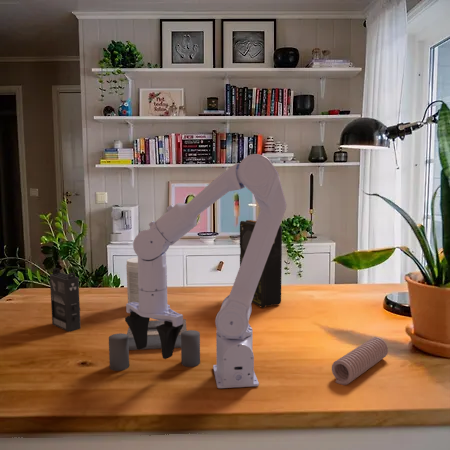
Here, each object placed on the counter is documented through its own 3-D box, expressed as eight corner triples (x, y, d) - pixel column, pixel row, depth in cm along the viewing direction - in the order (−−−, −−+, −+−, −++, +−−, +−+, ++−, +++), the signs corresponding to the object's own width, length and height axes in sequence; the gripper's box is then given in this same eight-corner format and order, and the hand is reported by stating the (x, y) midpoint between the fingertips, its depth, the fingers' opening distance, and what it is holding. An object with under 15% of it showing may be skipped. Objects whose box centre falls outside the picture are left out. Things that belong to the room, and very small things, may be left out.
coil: (369, 334, 100) (328, 359, 87) (389, 337, 97) (350, 364, 84) (370, 355, 100) (329, 383, 87) (390, 358, 97) (351, 388, 84)
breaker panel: (187, 347, 104) (187, 333, 103) (126, 350, 102) (125, 336, 102) (185, 330, 114) (185, 318, 114) (130, 332, 113) (130, 320, 112)
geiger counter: (86, 328, 117) (84, 272, 115) (70, 332, 113) (67, 275, 111) (66, 319, 123) (63, 266, 122) (50, 323, 120) (47, 269, 118)
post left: (128, 370, 92) (127, 340, 91) (108, 371, 91) (107, 341, 91) (130, 362, 96) (129, 333, 95) (111, 363, 95) (110, 333, 95)
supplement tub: (165, 308, 133) (164, 260, 131) (136, 314, 128) (134, 264, 126) (150, 300, 141) (149, 255, 139) (122, 306, 135) (121, 258, 134)
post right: (200, 366, 94) (200, 336, 93) (181, 367, 93) (181, 337, 92) (199, 358, 97) (199, 329, 97) (181, 359, 97) (180, 330, 96)
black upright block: (236, 296, 146) (236, 220, 143) (259, 292, 149) (259, 219, 146) (260, 309, 132) (260, 225, 128) (284, 305, 135) (285, 224, 132)
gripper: (193, 289, 88) (193, 354, 90) (143, 278, 97) (144, 338, 99) (167, 297, 83) (169, 367, 84) (117, 285, 91) (119, 348, 93)
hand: (154, 352), depth 91 cm, fingers open, 7 cm apart
